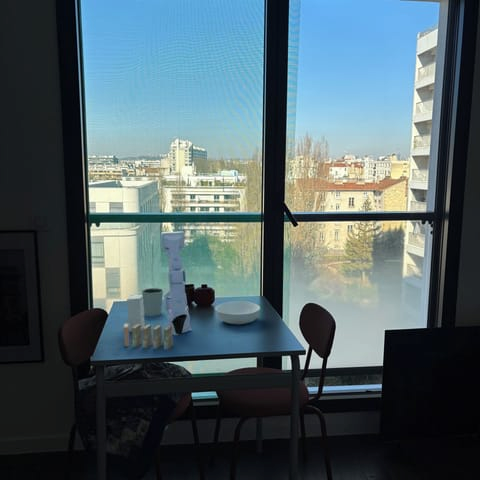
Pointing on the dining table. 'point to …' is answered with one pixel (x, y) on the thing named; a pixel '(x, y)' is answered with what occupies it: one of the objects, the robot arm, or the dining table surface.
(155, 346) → the domino
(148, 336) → the domino
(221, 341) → the dining table surface
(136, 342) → the domino
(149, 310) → the grey green plant pot
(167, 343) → the domino
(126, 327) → the end domino
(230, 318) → the serving bowl
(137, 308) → the skincare box
